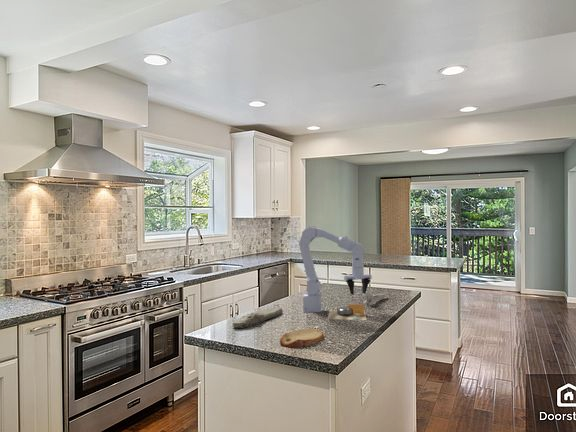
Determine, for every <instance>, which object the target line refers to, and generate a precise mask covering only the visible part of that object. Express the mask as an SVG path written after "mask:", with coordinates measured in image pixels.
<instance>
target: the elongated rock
mask: <svg viewBox="0 0 576 432" xmlns="http://www.w3.org/2000/svg"><path fill="white" fill-rule="evenodd" d="M282 313H283V309H282V307H272V308H271V307H270V308H268V309H266V310H261V311H259V312H256V311H255V312H254V311H253V312H251V313H248V314H246V315H243V316H241V317H239V318H238V319H236V320H234V321H233V323H232V326H233V328H236V329H237V328H238V329H244V328H250V327H253V326H258V325H259V324H261V323H263V322H265V321H266V320H271V319H272V318H275V317H278V316H280V315H282Z"/></svg>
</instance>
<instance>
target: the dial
mask: <svg viewBox="0 0 576 432" xmlns="http://www.w3.org/2000/svg"><path fill="white" fill-rule="evenodd" d="M364 305H365V304H364V303H349V304H348V306H346V307H345V306H343V307H342V306H341V307H340V306H339V307H337V308H336V310H337V314H338V315H343V316H348V315H353V314H364V311H365V307H364Z"/></svg>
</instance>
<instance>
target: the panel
mask: <svg viewBox="0 0 576 432" xmlns="http://www.w3.org/2000/svg"><path fill="white" fill-rule="evenodd" d="M353 318H357V319H358V320H357V321H367V315H366V310H364V314H353V315H348V316H343V315H338V314H337V309H330V310H329V312H328V316H327V320H340V321H341V320H344V321H345V320H347V321H349V320H350V321H356V320H355V319H353Z"/></svg>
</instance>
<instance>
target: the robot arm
mask: <svg viewBox="0 0 576 432" xmlns="http://www.w3.org/2000/svg"><path fill="white" fill-rule="evenodd" d="M316 238H324V239H326V240H329V241H331V242H334V243H336V245H337V246H338V247H339V248H341V249H343V250H346V251H348V252H351V253H352V254H351V255H352V256H351V270H352V271H351V275H344V276H343V281H345V282H346V284H347V286H348V288H349V291H350V295H352V296H353V295H354V293H355V291H354V289H355V281H356V280H357V281H358V280H361V286H362V288H361V289H362V290H361V291H362V294H363V293H364V294H366V292H367V289H368V287H369V283H370V282H371V280H372V278H373V275H372V274H365V273H364V271H365V270H364V266H365V265H364V253H363V252H364V250H365V249H364V245H363V244H362V243H360V242H357V241H356V240H352V239H350V238H348V236H338V235H335V234H333V233H331V232H330V231H328V230H325V229H323V228H320V227H316V226H307V227H306V228H304V230H303V231H302V232H301V236H300V239H299V243H298V246H299V250H300V254H301V258H302V262H303V267H304V271H305V275H306V292H307V293H304V294H303V296H302V309H303V311H302V313H305V314H307V313H319V312H323V311H324V310H323V308H322V292H321V289H322V283H321V281H320V280H319V277H318V275H317V273H316V270H315V269H316V268H315V264H314V261H313V256H312V251H311V249H310V245H311V243H312V241H314V240H315V239H316ZM354 280H355V281H354Z"/></svg>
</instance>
